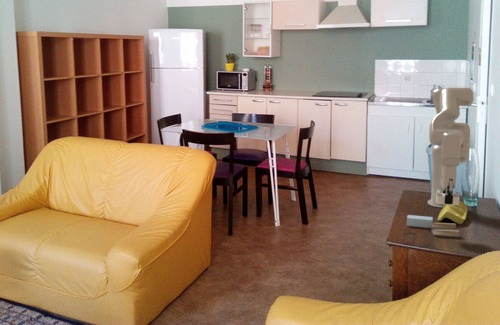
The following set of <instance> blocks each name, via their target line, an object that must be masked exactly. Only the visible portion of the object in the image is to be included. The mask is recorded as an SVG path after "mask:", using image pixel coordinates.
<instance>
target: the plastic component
mask: <svg viewBox="0 0 500 325" xmlns="http://www.w3.org/2000/svg"><path fill="white" fill-rule="evenodd" d="M467 214H468V206H467V205H466V203H465V202H463V201H461V200H459V205H446V204H445V205H444V207H443V208H442V209H441V210H440V212H439V215H438V217H437V221H438V222H441V221H442V220H444V219H445V218H447V219H449V221H453V222H454V223H455V224H458V225H463V224H464V223H465V220H466V219H467Z"/></svg>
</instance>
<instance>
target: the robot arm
mask: <svg viewBox="0 0 500 325" xmlns="http://www.w3.org/2000/svg"><path fill="white" fill-rule="evenodd" d="M432 102H433V105H434V106H433V107H434V109H435V111H436V115H435V116H434V117H433V118H432V120H431V121H430V124H429V133H428V134H429V136H428V137H429V138H428V139H429V143H430V144H431V145H432V146H433V147H432V149H431V156H432V176H431V177H432V178H431V193H430V194H431V195H430V199H428V200H427V204H428V206H429V205H430V206H431V207H434V208H443V207H444V205H445V204H453V194H454V190H455V188H456V184H457V170H458V169H457V167H458V166H460V164H466V163H467V162H469V158H470V148H471V147H470V146H471V145H470V144H471V127H470V125H469V124H468V123H466V122H456V120H457V119H459V118H460V115H461V112H460V111H461V110H460V108H461V107H470V106H472V104H473V103H474V92H473V89H472V88H470V87H439V88H436V89H434V90H433V92H432ZM437 190H440V193H446V195H445V204H437V203H436V194H437Z"/></svg>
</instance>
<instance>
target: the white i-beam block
mask: <svg viewBox="0 0 500 325" xmlns="http://www.w3.org/2000/svg"><path fill="white" fill-rule="evenodd" d="M445 195H446V193H440V190H437V194H436V203H437V204H445ZM460 196H461V194H460V191H459V190H455V193H453V204H446V205H459V201H460V198H461V197H460Z"/></svg>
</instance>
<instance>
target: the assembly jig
mask: <svg viewBox="0 0 500 325" xmlns="http://www.w3.org/2000/svg"><path fill="white" fill-rule="evenodd" d="M430 230H431V233H432V235H433V236H434V237H446V238H449V237H450V238H453V237H454V238H461V234H460V230H458V228H457V223H452V222H451V223H449V222H448V223H447V222H432V227H431V228H430Z"/></svg>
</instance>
